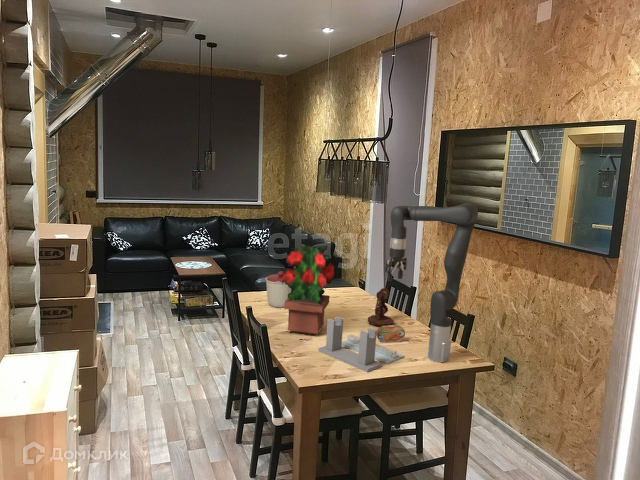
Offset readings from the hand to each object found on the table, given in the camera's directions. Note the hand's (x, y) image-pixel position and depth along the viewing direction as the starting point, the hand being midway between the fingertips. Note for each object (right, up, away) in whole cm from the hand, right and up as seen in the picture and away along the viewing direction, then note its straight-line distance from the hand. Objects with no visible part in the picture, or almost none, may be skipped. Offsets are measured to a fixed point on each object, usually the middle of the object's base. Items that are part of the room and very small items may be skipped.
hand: (394, 279), depth 252 cm
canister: (-61, -20, +62) cm, 90 cm away
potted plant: (-44, -29, +21) cm, 56 cm away
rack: (-23, -35, -13) cm, 44 cm away
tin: (-1, -33, +13) cm, 35 cm away
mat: (-12, -34, -1) cm, 36 cm away
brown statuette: (-2, -28, +39) cm, 48 cm away
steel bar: (-12, -33, -2) cm, 35 cm away
